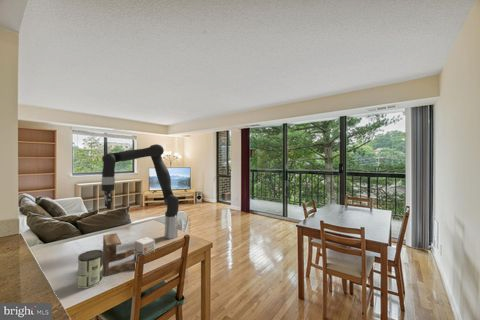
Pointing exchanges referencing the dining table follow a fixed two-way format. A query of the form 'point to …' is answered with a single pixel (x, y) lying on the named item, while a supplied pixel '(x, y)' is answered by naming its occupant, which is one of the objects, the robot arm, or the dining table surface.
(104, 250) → the shelf bay
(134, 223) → the dining table surface
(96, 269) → the coffee can
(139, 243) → the ink box
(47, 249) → the dining table surface
